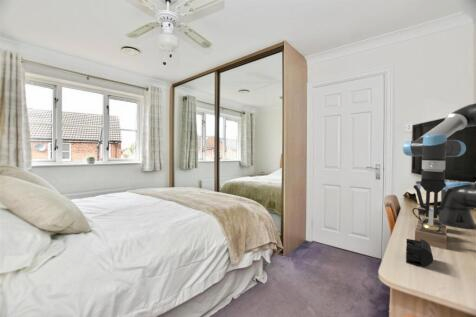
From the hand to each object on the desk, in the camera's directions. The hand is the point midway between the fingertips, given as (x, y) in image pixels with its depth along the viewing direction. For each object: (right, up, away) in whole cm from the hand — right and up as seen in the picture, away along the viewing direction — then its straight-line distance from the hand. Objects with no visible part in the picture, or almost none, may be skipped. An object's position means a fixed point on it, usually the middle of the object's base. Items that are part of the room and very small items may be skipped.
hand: (430, 225), depth 96 cm
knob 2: (0, -3, 0) cm, 3 cm away
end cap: (-19, -8, -16) cm, 26 cm away
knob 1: (+8, 0, +8) cm, 11 cm away
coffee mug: (+15, -7, +21) cm, 27 cm away
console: (+4, -8, +4) cm, 10 cm away
